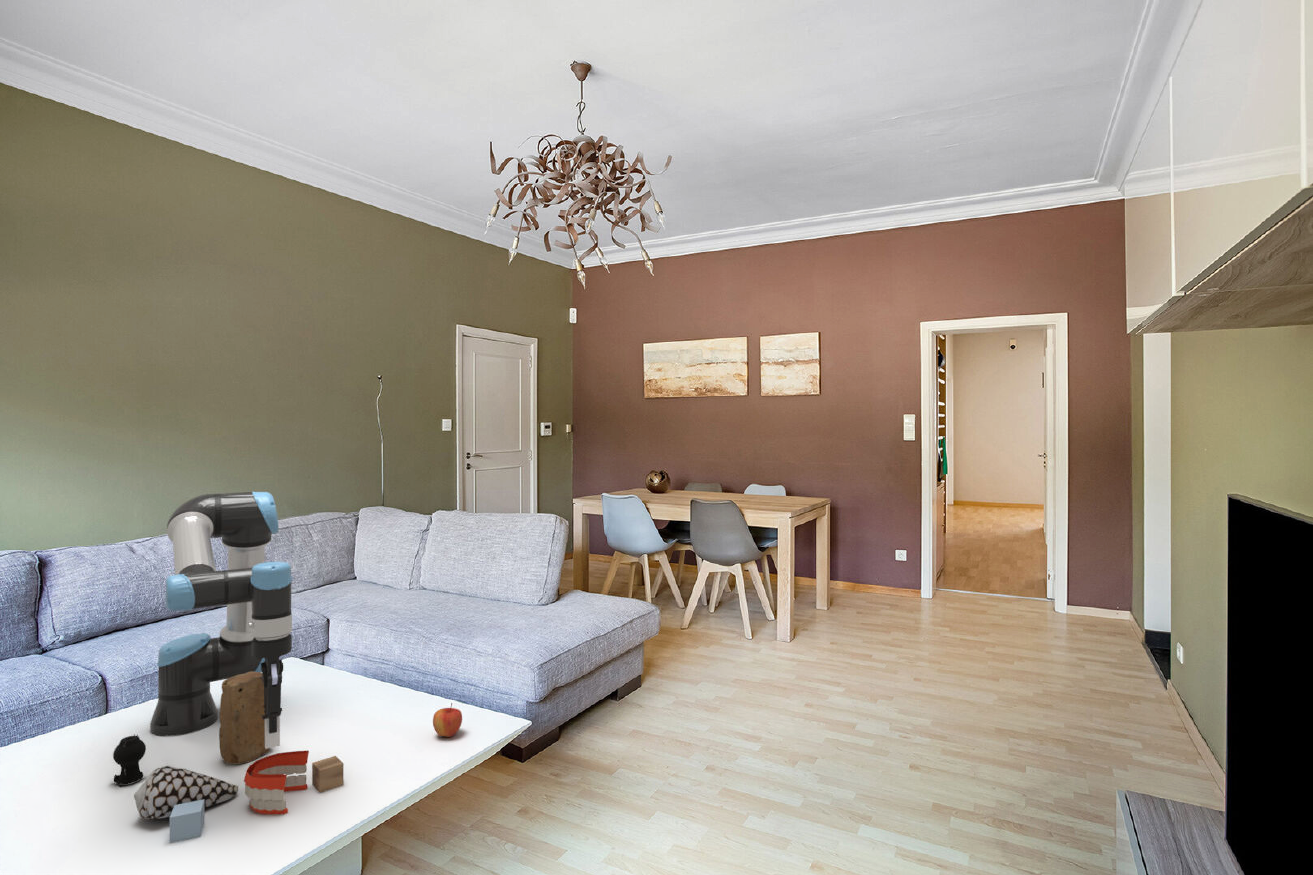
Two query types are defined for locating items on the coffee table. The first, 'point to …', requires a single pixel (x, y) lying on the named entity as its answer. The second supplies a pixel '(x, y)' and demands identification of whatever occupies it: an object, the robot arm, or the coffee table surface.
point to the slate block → (187, 821)
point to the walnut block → (327, 774)
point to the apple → (447, 721)
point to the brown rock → (242, 718)
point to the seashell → (178, 791)
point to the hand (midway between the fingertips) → (272, 745)
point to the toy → (275, 780)
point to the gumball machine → (129, 760)
